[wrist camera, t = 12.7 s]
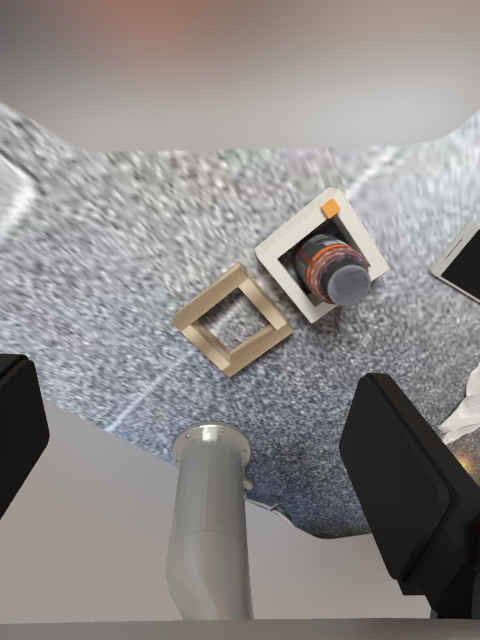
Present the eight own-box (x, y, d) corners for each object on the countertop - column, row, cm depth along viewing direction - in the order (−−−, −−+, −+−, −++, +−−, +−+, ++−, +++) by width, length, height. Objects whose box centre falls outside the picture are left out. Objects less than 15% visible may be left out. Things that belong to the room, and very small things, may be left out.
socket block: (374, 258, 39) (392, 269, 35) (304, 310, 42) (313, 326, 38) (328, 187, 35) (342, 190, 31) (254, 248, 38) (258, 258, 34)
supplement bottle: (309, 287, 40) (338, 329, 30) (281, 253, 38) (302, 284, 28) (349, 257, 39) (393, 289, 29) (322, 219, 37) (359, 239, 27)
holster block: (289, 320, 42) (293, 331, 40) (228, 365, 45) (229, 377, 42) (238, 261, 38) (239, 268, 36) (175, 313, 41) (172, 323, 38)
